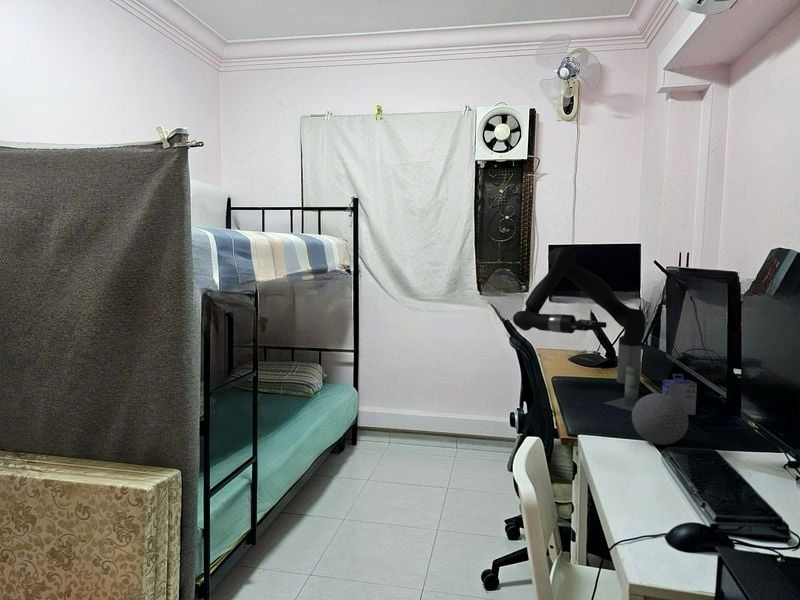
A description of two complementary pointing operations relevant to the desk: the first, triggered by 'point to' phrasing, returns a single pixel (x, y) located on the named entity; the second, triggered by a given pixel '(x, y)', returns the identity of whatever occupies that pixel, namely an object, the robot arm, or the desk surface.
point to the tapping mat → (619, 404)
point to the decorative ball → (660, 419)
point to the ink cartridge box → (681, 392)
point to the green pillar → (631, 386)
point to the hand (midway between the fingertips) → (603, 326)
